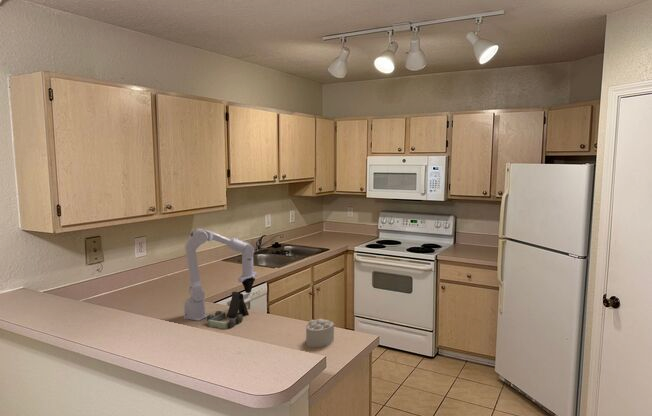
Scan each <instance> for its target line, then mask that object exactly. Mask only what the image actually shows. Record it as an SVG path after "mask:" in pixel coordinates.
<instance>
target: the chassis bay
mask: <svg viewBox="0 0 652 416" xmlns="http://www.w3.org/2000/svg"><path fill="white" fill-rule="evenodd" d="M207 315H208V316H207V317H206V322H207V326H209V327H214V328H219V329H226V330H227V329H230V328H234V327H235V326H236V324H242V322H243V320H244V317H243V315H241V314H238V315H237V317H236V318H234V319H233V318H230V319H229V320H228V321H227V322H225V321H221V320H224V319H225V318H226V313H225V312H222V311H221V310H217V311H215V314H214V315H213V314H207Z"/></svg>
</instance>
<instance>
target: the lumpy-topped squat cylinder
mask: <svg viewBox="0 0 652 416" xmlns="http://www.w3.org/2000/svg"><path fill="white" fill-rule="evenodd" d="M305 329H306V330H305V331H306V332H305V335H306V336H305V339H306V343H305V344H306V345H307V346H308V347H311V348H321V347H326V346H329V345H330V344H331V343H332V342H334V339H335V333H334V332H335V324H334V322H333V321H330V320H329V319H324V318H318V319H310V320H309V321H308V323H307V324H306V326H305Z"/></svg>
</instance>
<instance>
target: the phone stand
mask: <svg viewBox="0 0 652 416" xmlns="http://www.w3.org/2000/svg"><path fill="white" fill-rule="evenodd" d="M228 306H229V307H228V310H227V314H226V317H227V318H230V319H231V318H233V319H234V318H236V317H237V315H238V314H241V315H243V318H244V317H247V316H249V315H250V314H249V311H248V308H247V305H246V303H245V300H244V294H243V293H241V292H239V291H236V290H235V291H232V292H231V300H230V304H229V305H228Z"/></svg>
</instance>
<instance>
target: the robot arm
mask: <svg viewBox="0 0 652 416" xmlns="http://www.w3.org/2000/svg"><path fill="white" fill-rule="evenodd" d="M211 241H215V242H218V243H222V244H224V245H226V246H227V247H228V249H230V250H233V251H235V252H238V253H241V256H242V258H241V264H242V265H241V266H242V267H241V271H242V273H241V274H242V275H241V276H239V277H238V279H237V280H238V283H241V284H242V285H243V286H242V287H243V288H244V292H245V294H250V293H251V292H252V289H253V285H254V283H255V282H256V278H255V277H258V271H254V253H255V252H256V251H255V250H256V249H255V248H254V246H253V245H252V244H250V243H249V242H247V241H245V240H244V241H242V240H240V239H239V237H231V238H228V237H226V236H224V235H221V234H219V233H217V232H214V231H212V230H208V229H203V228H201V227H198V228H195V229H193V231H191V232H190V233H189V236H188V239H187V241H186V242H185V243H186V244H185V246H184V248H185V249H184V250H185V255H186V262H187V263H186V264H187V270H188V275H189V276H188V277H189V290H188V293H189V296H190V297H189V298H187V299H186V300H185V302H184V304H183V305H184V309H183V310H184V316H183V319H185V320H192V321H197V322H199V321H201V320H204V319H205V318H207V317H208V315H209V314H208V313H207V314H205V313H206V309H205V307H206V306H205V304H206V302H205V301H206V299H205V296H206V295H205V294H206V293H205V290H203V287H202V282H201V277H200V271H199V270H200V269H199V263H198V256H197V249H199V247H200V246H201V245H204V244H205V243H206V242H211Z"/></svg>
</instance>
